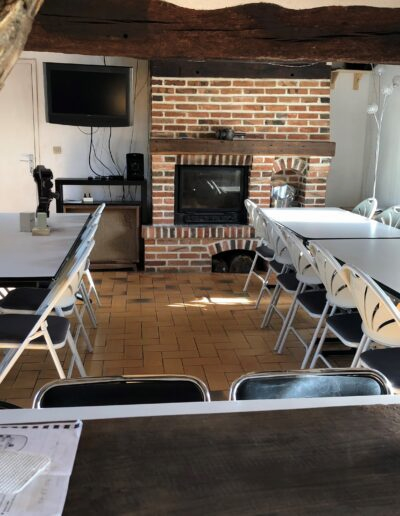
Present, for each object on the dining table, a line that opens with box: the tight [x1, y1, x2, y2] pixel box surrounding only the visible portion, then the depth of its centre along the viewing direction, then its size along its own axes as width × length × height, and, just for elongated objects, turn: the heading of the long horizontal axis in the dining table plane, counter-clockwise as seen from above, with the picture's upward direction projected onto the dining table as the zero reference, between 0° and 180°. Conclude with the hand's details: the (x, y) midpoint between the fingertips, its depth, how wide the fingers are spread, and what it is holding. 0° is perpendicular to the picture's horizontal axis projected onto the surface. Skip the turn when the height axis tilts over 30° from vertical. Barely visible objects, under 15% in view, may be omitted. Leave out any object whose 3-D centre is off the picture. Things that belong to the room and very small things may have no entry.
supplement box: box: [19, 211, 36, 233], centre depth 355 cm, size 7×7×13 cm
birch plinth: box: [31, 227, 51, 237], centre depth 346 cm, size 10×10×4 cm
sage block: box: [36, 213, 48, 229], centre depth 345 cm, size 5×5×10 cm
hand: (46, 211), depth 358 cm, fingers open, 9 cm apart
